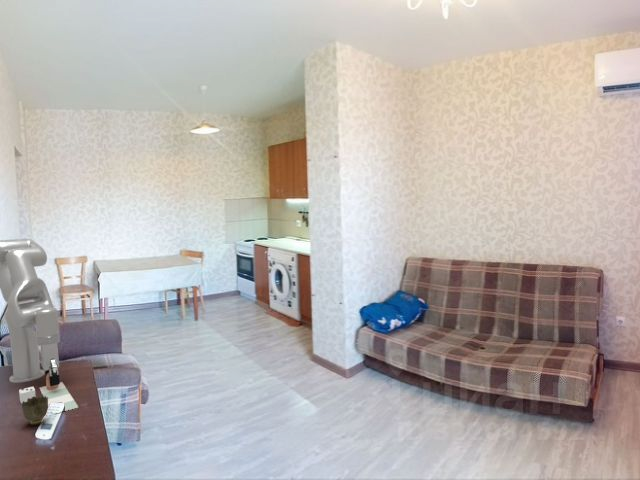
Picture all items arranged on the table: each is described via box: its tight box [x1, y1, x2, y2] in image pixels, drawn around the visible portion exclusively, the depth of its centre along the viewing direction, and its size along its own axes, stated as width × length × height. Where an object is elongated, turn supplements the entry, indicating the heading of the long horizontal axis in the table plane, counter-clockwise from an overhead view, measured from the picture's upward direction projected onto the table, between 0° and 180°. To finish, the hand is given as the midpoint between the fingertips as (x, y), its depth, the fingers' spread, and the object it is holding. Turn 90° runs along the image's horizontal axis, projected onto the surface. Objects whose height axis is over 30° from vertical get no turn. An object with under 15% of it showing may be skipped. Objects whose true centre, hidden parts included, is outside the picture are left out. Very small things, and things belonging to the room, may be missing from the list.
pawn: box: [45, 372, 58, 390], centre depth 174 cm, size 4×4×6 cm
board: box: [39, 381, 79, 412], centre depth 165 cm, size 30×8×1 cm, turn 40°
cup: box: [20, 395, 49, 426], centre depth 146 cm, size 8×7×8 cm
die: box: [18, 386, 37, 406], centre depth 163 cm, size 4×4×5 cm
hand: (52, 381), depth 173 cm, fingers open, 9 cm apart
